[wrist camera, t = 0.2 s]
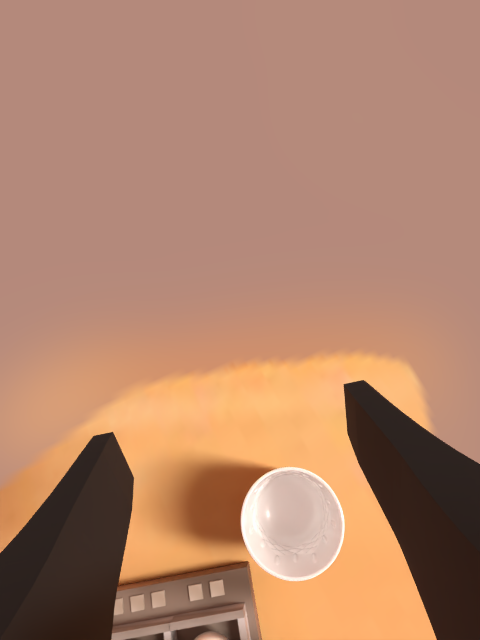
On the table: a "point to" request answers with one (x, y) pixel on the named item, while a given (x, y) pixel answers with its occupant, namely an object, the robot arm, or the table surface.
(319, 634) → the table surface
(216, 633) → the off-white button
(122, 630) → the button panel
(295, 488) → the white cup
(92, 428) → the table surface
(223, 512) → the table surface
